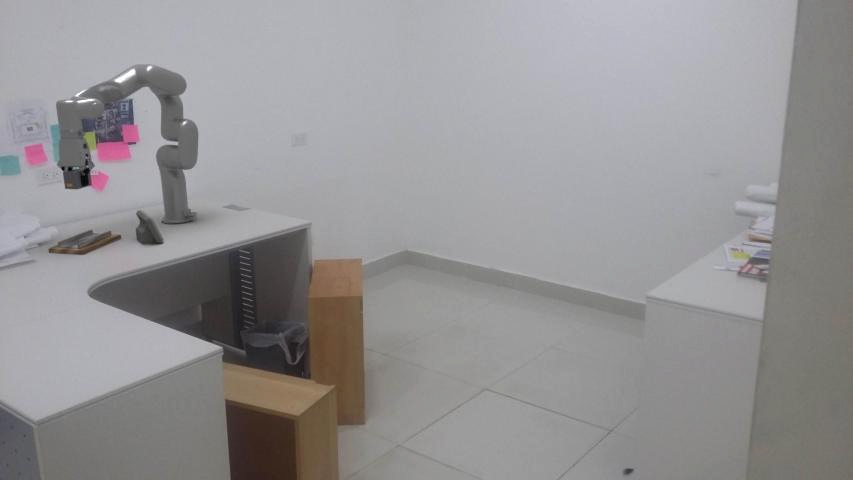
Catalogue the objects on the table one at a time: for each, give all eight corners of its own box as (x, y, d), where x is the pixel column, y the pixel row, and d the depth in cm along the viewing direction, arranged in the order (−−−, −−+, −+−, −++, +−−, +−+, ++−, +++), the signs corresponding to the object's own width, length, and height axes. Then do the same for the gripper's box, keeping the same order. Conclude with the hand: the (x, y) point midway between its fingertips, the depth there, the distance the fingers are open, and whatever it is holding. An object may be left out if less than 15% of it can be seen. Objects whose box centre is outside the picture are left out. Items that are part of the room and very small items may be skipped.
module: (91, 185, 268) (89, 168, 267) (76, 189, 260) (74, 173, 259) (79, 184, 269) (77, 168, 268) (64, 189, 261) (61, 172, 260)
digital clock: (164, 244, 272) (161, 216, 269) (138, 247, 268) (135, 218, 265) (161, 233, 286) (158, 207, 283) (136, 236, 283) (133, 209, 280)
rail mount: (121, 238, 280) (120, 229, 279) (83, 254, 259) (82, 245, 258) (88, 236, 283) (87, 228, 282) (49, 252, 262) (47, 243, 261)
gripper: (99, 134, 262) (105, 184, 267) (58, 133, 266) (64, 182, 270) (86, 136, 255) (92, 188, 260) (43, 135, 258) (50, 186, 263)
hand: (78, 184), depth 265 cm, fingers closed on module, 5 cm apart
